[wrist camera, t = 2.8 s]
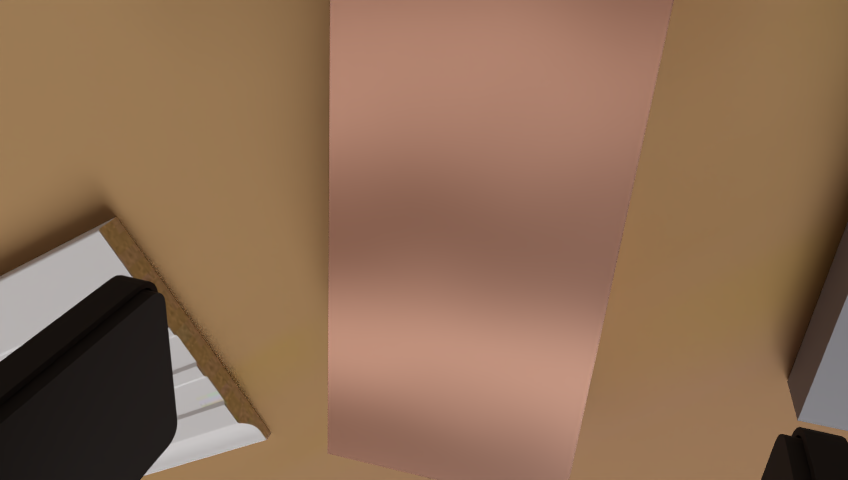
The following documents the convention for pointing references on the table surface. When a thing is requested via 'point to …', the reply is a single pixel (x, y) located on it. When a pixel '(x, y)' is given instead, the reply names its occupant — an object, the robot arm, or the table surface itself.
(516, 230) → the pink elongated block
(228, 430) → the baseboard
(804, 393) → the peg stand
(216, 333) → the table surface
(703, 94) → the table surface
